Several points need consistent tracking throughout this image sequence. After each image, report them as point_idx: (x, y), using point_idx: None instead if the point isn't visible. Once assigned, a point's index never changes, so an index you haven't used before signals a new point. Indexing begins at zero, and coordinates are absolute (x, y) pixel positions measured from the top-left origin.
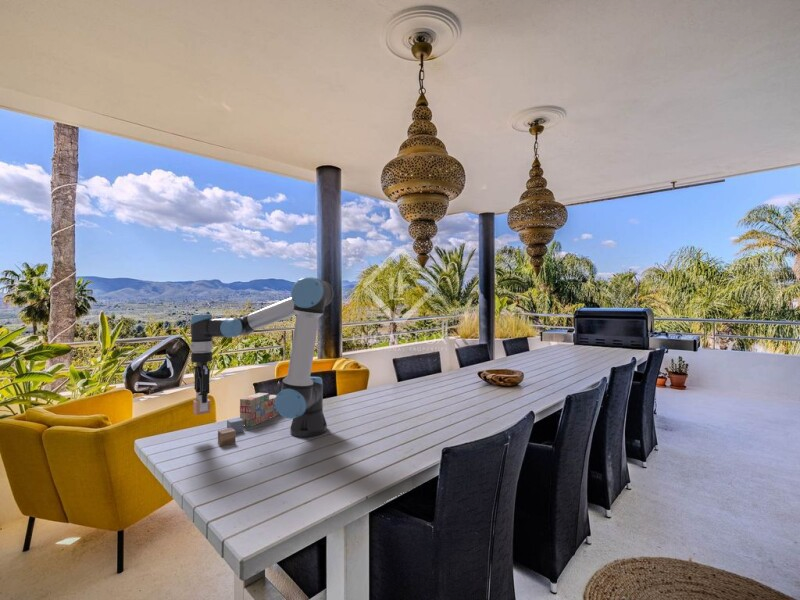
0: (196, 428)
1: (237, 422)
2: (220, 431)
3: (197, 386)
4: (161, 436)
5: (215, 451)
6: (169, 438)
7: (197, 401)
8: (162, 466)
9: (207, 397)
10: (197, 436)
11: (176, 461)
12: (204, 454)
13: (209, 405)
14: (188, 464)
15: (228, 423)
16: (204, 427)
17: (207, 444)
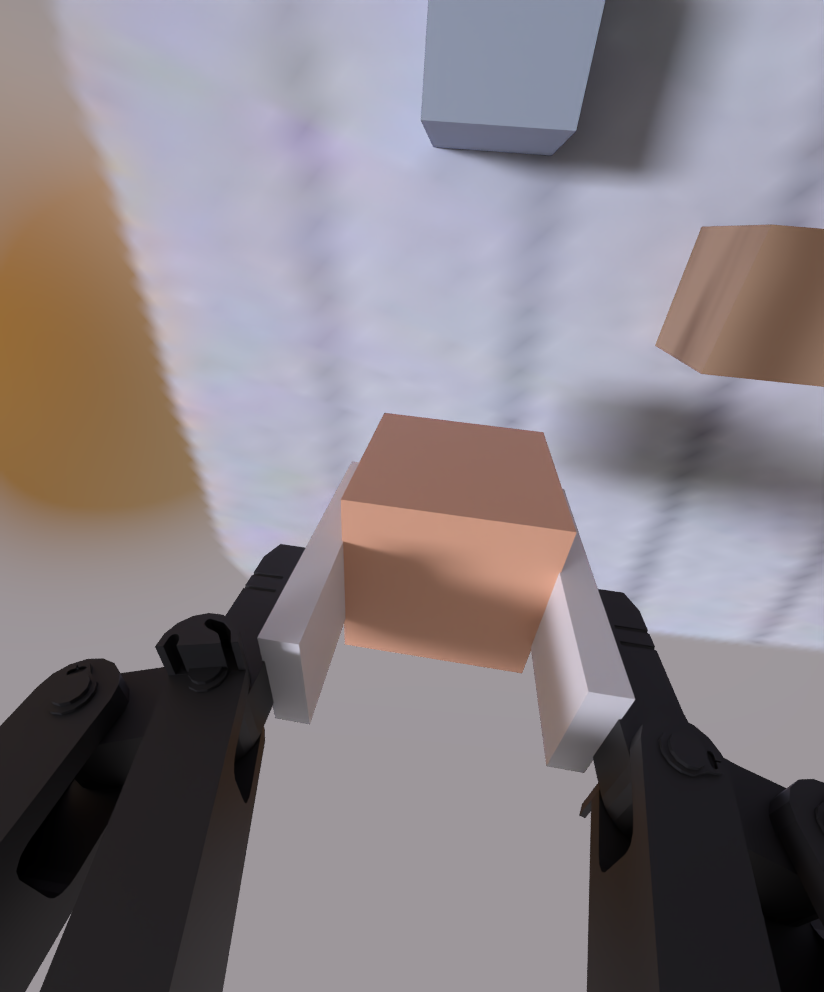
0: (176, 325)
1: (599, 13)
2: (755, 368)
3: (240, 875)
4: (234, 514)
5: (793, 422)
6: (299, 502)
7: (467, 647)
8: (682, 629)
9: (609, 632)
10: (377, 388)
11: (689, 587)
12: (759, 482)
13: (556, 492)
14: (795, 573)
15: (480, 131)
16: (180, 267)
17: (605, 405)
